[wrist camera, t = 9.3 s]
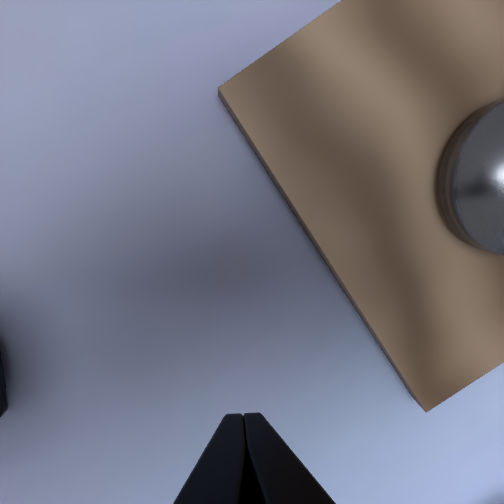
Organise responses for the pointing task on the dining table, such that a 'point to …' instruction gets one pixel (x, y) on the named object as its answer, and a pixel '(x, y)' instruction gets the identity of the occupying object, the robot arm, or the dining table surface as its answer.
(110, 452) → the dining table surface
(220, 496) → the robot arm
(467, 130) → the lever
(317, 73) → the walnut stand plate
